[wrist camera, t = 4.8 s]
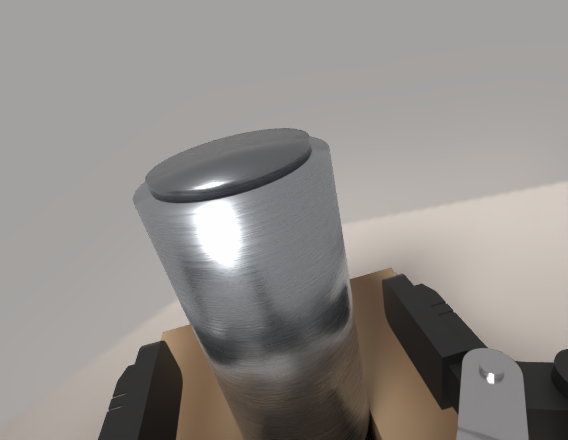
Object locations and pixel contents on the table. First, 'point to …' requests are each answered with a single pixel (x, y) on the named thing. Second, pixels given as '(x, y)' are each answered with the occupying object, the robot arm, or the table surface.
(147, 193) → the brushed metal cylinder
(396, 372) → the housing
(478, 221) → the table surface
